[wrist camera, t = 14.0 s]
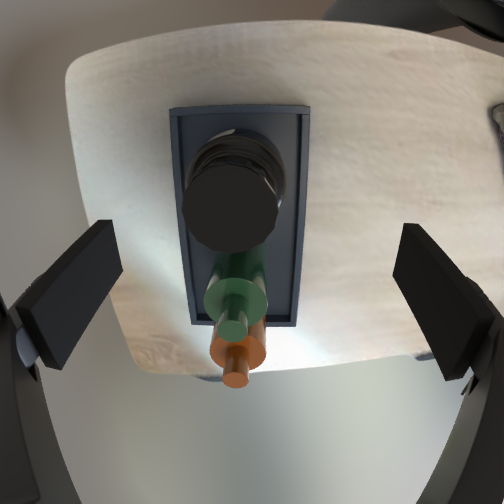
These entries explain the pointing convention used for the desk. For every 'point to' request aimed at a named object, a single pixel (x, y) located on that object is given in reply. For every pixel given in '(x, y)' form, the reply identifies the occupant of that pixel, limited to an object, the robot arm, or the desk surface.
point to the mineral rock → (499, 119)
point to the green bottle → (237, 291)
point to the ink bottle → (234, 191)
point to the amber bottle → (239, 354)
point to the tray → (288, 220)
